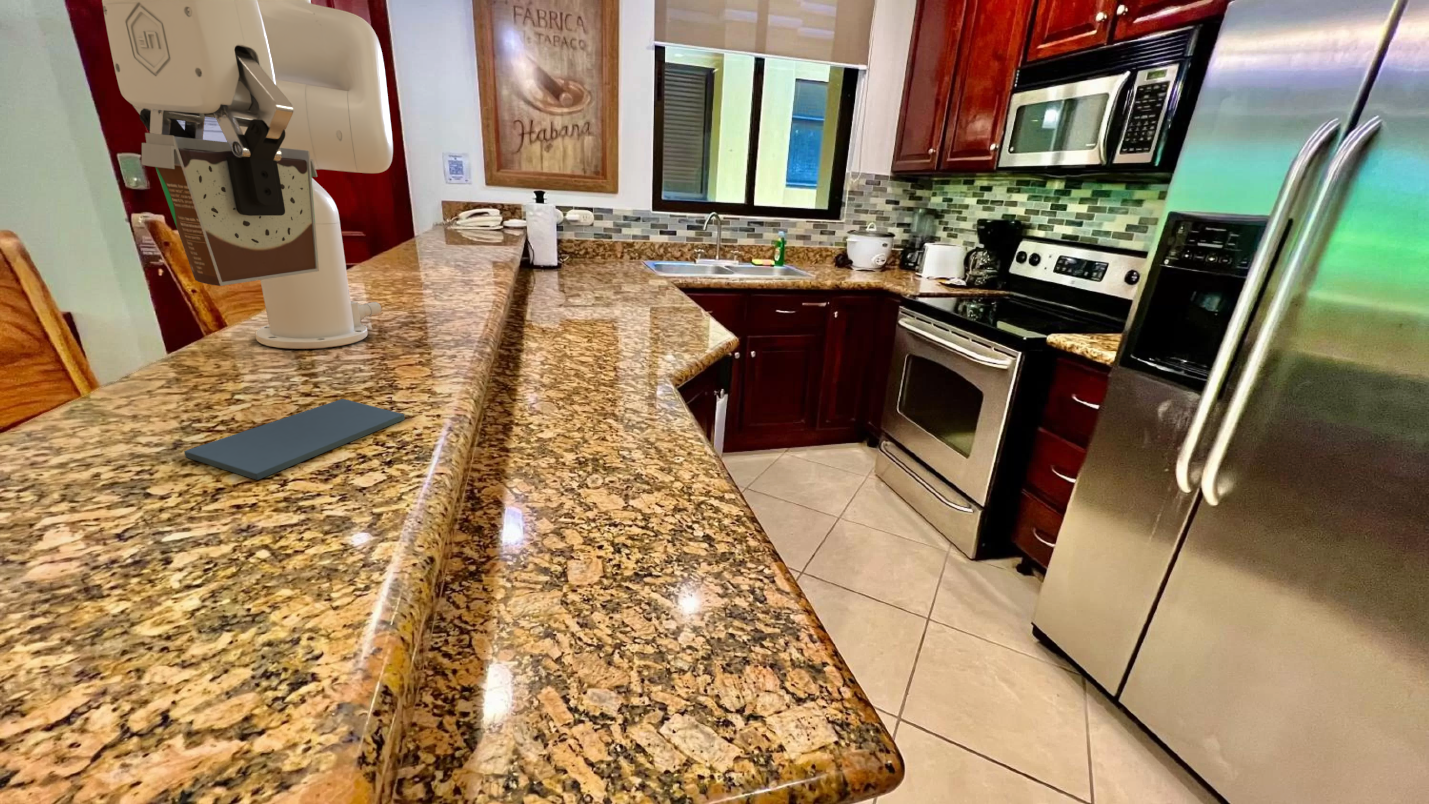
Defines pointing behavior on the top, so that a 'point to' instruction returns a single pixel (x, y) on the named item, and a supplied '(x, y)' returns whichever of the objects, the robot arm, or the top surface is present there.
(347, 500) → the top surface
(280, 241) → the food container
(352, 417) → the pad
